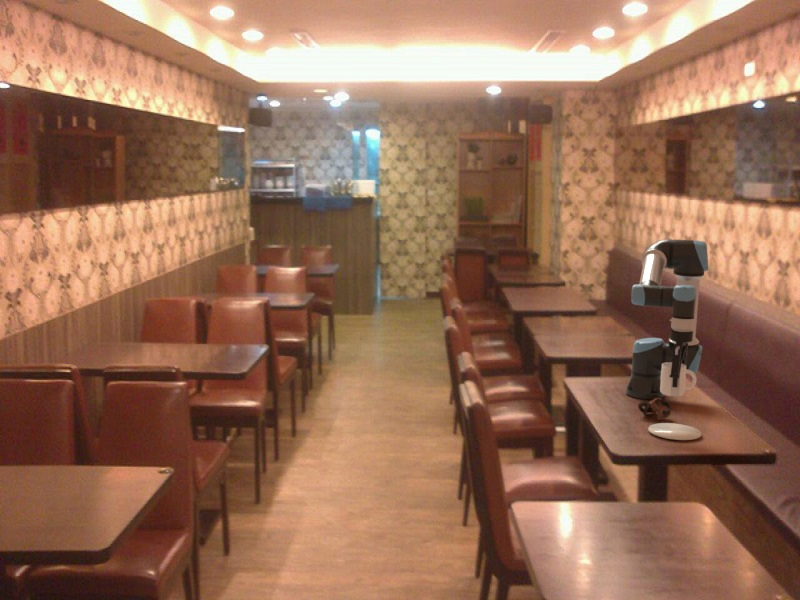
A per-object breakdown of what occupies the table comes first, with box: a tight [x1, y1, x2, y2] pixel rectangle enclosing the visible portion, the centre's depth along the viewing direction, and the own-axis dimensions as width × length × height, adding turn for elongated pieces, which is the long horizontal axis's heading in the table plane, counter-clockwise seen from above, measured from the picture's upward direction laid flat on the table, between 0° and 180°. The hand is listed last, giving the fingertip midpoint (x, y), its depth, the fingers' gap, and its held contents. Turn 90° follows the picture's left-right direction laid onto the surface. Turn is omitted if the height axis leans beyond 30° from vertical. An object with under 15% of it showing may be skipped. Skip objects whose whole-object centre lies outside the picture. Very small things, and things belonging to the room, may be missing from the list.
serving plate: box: [648, 422, 702, 441], centre depth 328 cm, size 18×18×1 cm
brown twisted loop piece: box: [637, 398, 672, 421], centre depth 347 cm, size 12×10×8 cm
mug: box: [660, 362, 697, 397], centre depth 325 cm, size 12×8×10 cm
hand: (677, 392), depth 326 cm, fingers closed on mug, 8 cm apart
